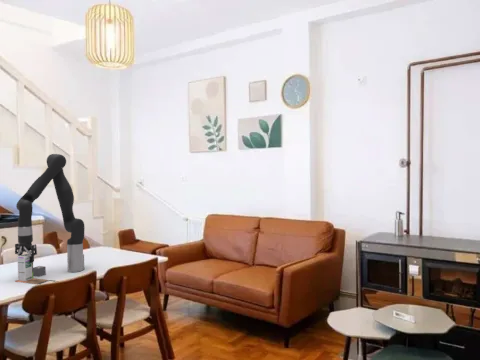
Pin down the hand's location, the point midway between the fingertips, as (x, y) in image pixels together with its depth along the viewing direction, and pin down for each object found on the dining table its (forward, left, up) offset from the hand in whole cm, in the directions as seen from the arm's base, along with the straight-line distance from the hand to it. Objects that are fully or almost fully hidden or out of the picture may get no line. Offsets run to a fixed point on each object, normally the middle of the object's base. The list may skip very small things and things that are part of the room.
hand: (26, 261), depth 228 cm
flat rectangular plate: (0, +9, -11) cm, 14 cm away
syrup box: (0, 0, -11) cm, 11 cm away
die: (-11, -2, -11) cm, 15 cm away
